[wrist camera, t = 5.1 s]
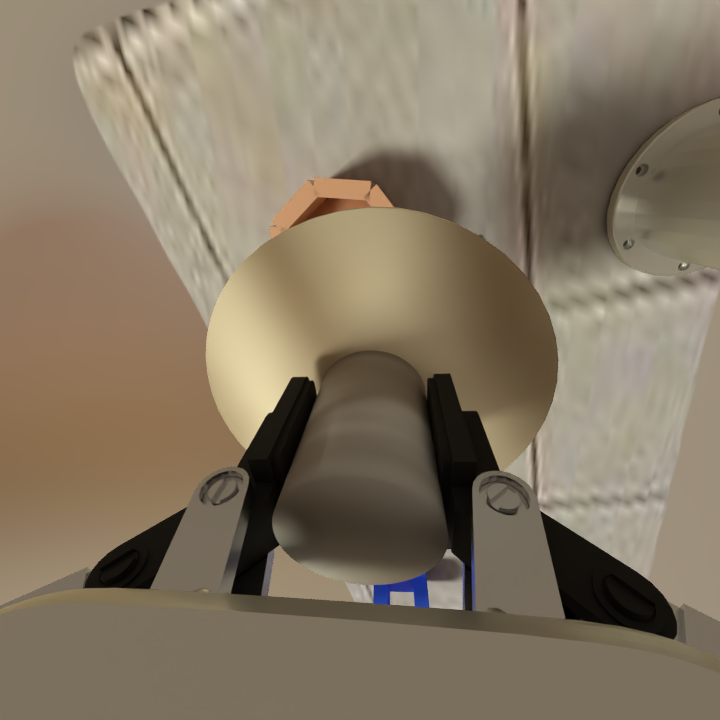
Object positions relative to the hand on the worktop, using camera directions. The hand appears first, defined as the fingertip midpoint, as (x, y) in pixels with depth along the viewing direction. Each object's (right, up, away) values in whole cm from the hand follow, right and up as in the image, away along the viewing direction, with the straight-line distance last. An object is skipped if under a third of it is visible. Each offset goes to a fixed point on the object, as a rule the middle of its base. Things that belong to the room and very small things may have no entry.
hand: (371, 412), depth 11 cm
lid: (0, +1, +2) cm, 2 cm away
